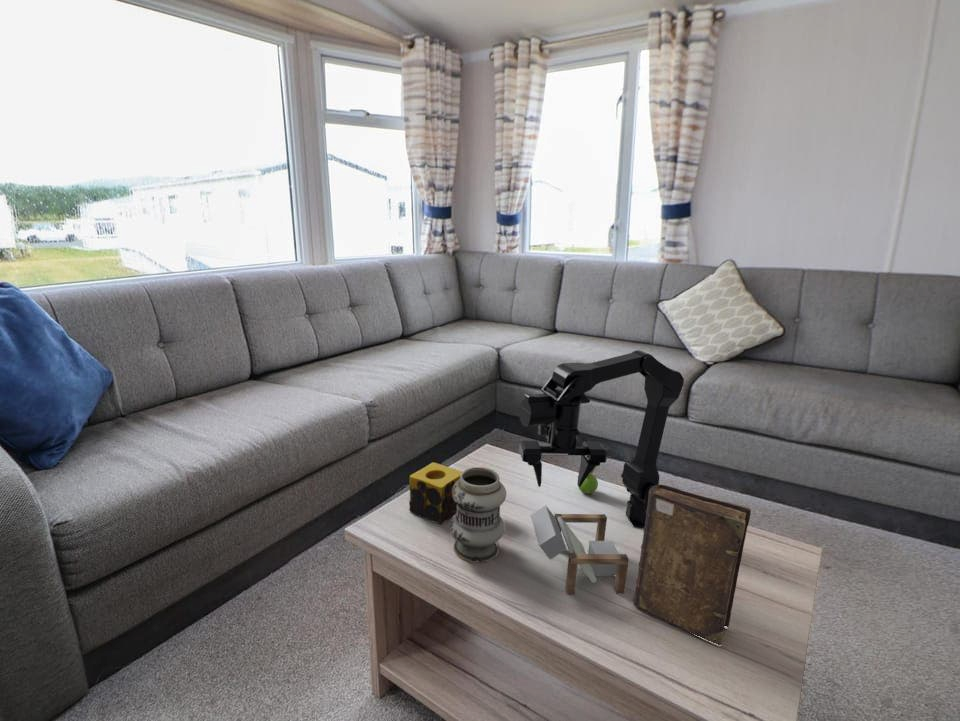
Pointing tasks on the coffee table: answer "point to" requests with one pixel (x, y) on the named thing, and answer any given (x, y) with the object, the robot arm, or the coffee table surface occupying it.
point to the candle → (433, 492)
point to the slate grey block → (603, 548)
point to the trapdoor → (557, 537)
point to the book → (690, 560)
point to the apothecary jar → (477, 514)
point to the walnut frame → (594, 558)
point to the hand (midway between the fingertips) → (559, 486)
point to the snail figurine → (589, 483)
